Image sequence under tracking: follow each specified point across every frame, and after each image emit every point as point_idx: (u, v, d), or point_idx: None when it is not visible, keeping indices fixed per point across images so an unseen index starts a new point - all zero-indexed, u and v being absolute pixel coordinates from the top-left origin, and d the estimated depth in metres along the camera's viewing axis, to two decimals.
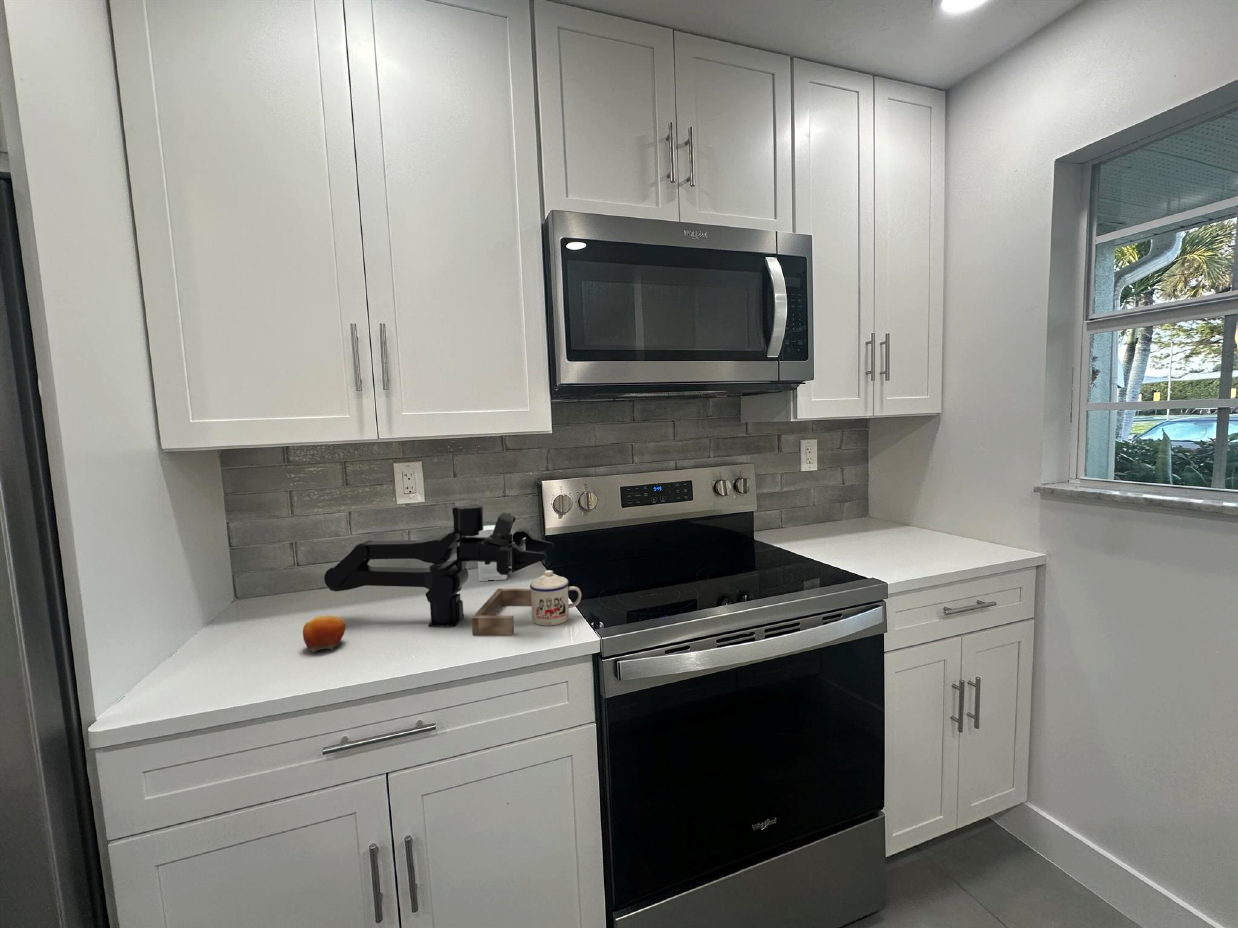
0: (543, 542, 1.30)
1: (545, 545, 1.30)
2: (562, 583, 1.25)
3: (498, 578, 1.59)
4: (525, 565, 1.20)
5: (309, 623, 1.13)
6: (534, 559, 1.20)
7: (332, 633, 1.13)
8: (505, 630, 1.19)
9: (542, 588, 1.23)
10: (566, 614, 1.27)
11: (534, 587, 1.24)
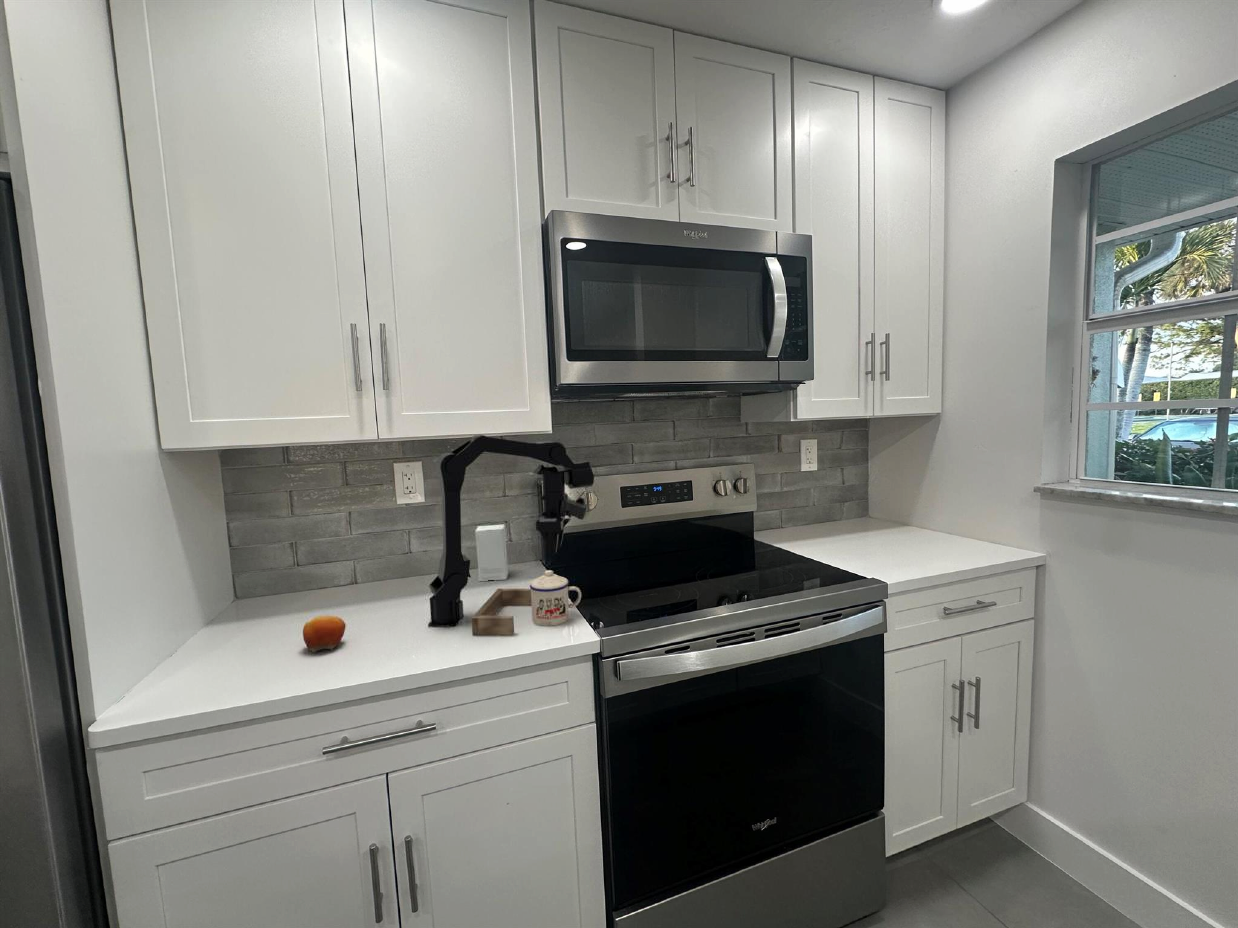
0: (561, 537, 1.44)
1: (558, 540, 1.44)
2: (562, 583, 1.25)
3: (498, 578, 1.59)
4: (545, 538, 1.35)
5: (309, 623, 1.13)
6: (551, 544, 1.36)
7: (332, 633, 1.13)
8: (505, 630, 1.19)
9: (542, 588, 1.23)
10: (566, 614, 1.27)
11: (534, 587, 1.24)
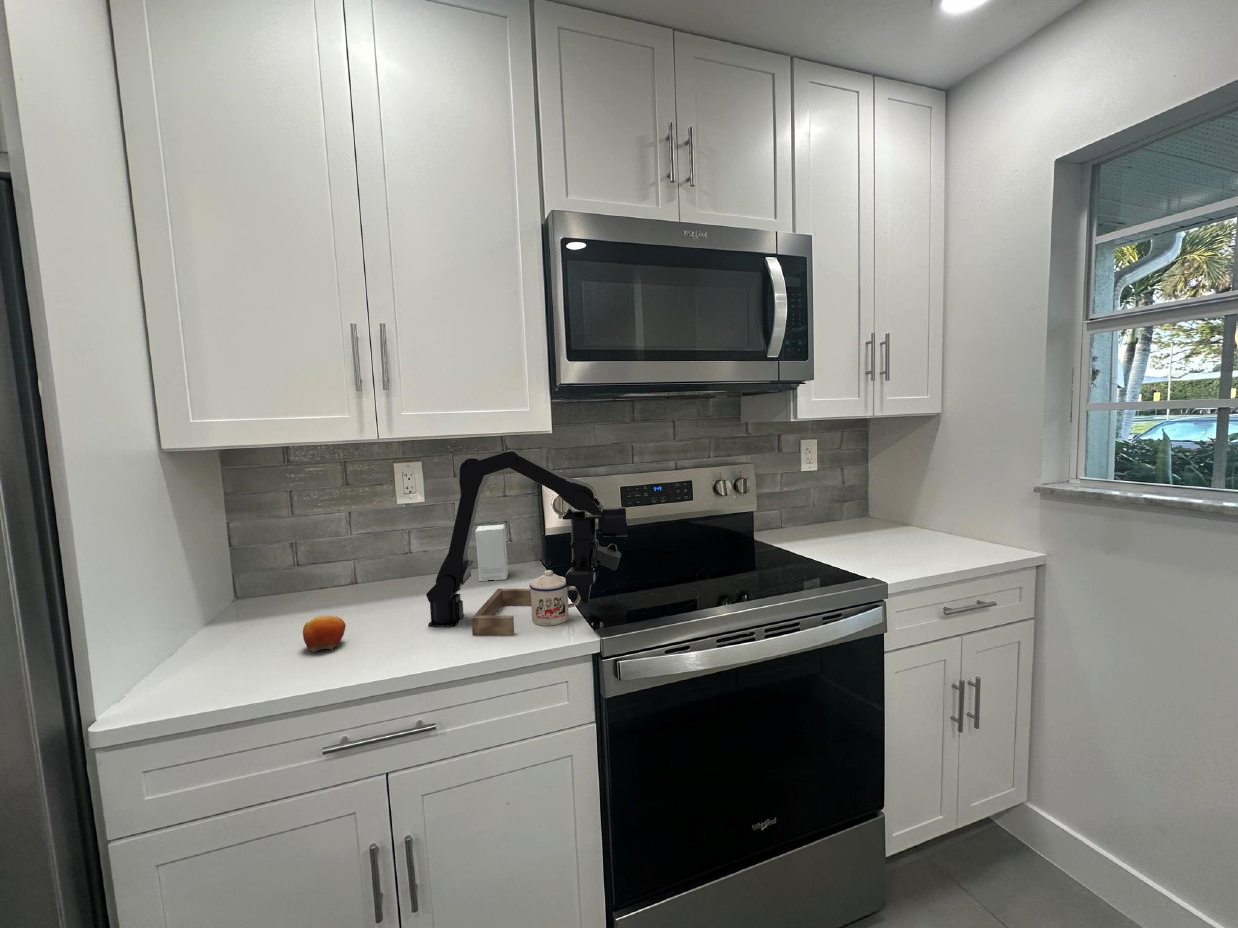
0: None
1: None
2: (562, 583, 1.25)
3: (498, 578, 1.59)
4: (576, 586, 1.26)
5: (309, 623, 1.13)
6: (583, 593, 1.27)
7: (332, 633, 1.13)
8: (505, 630, 1.19)
9: (542, 588, 1.23)
10: (566, 614, 1.27)
11: (534, 587, 1.24)
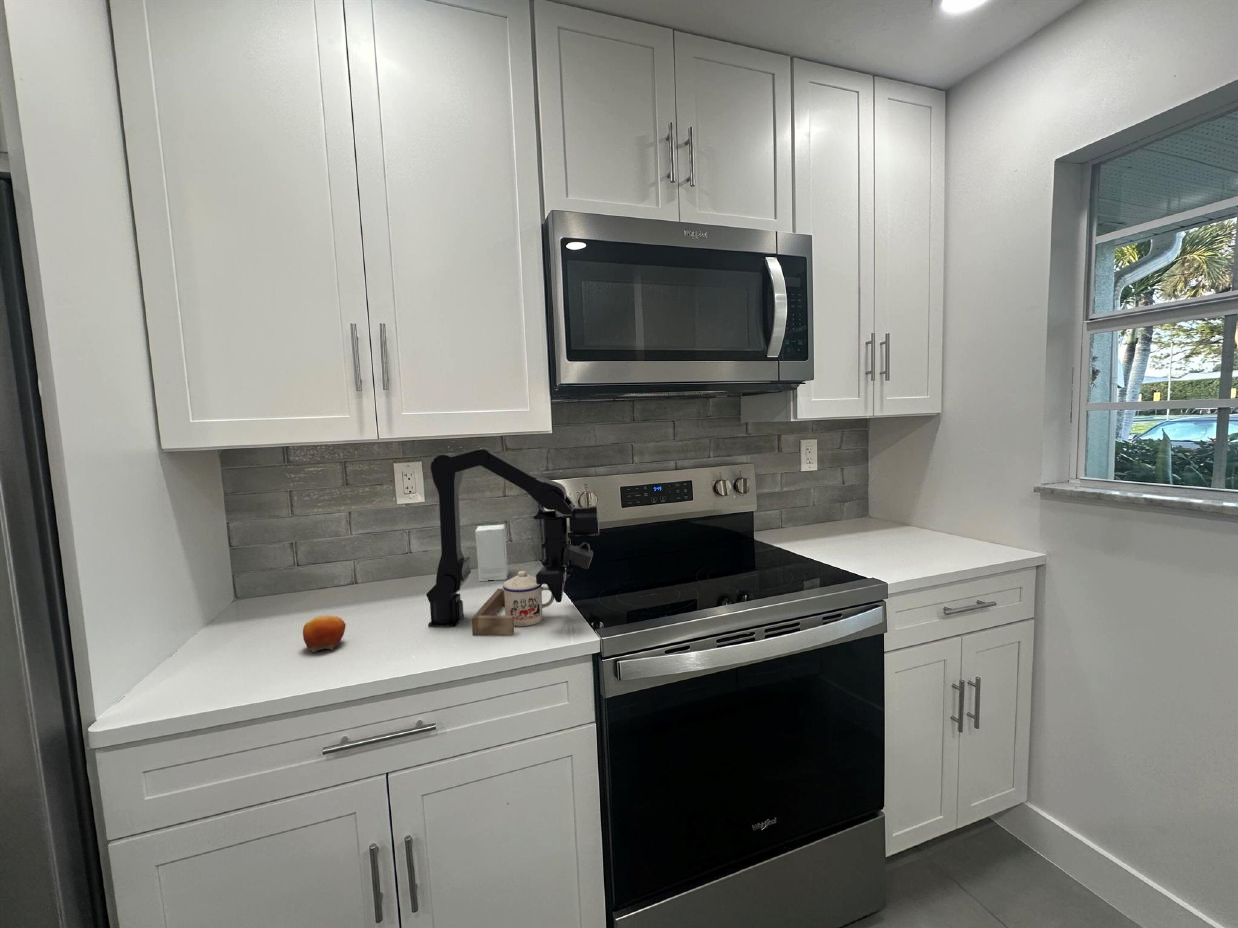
0: None
1: None
2: None
3: (498, 578, 1.59)
4: (549, 586, 1.26)
5: (309, 623, 1.13)
6: (555, 592, 1.27)
7: (332, 633, 1.13)
8: (505, 630, 1.19)
9: (516, 589, 1.23)
10: (540, 614, 1.27)
11: (508, 588, 1.24)
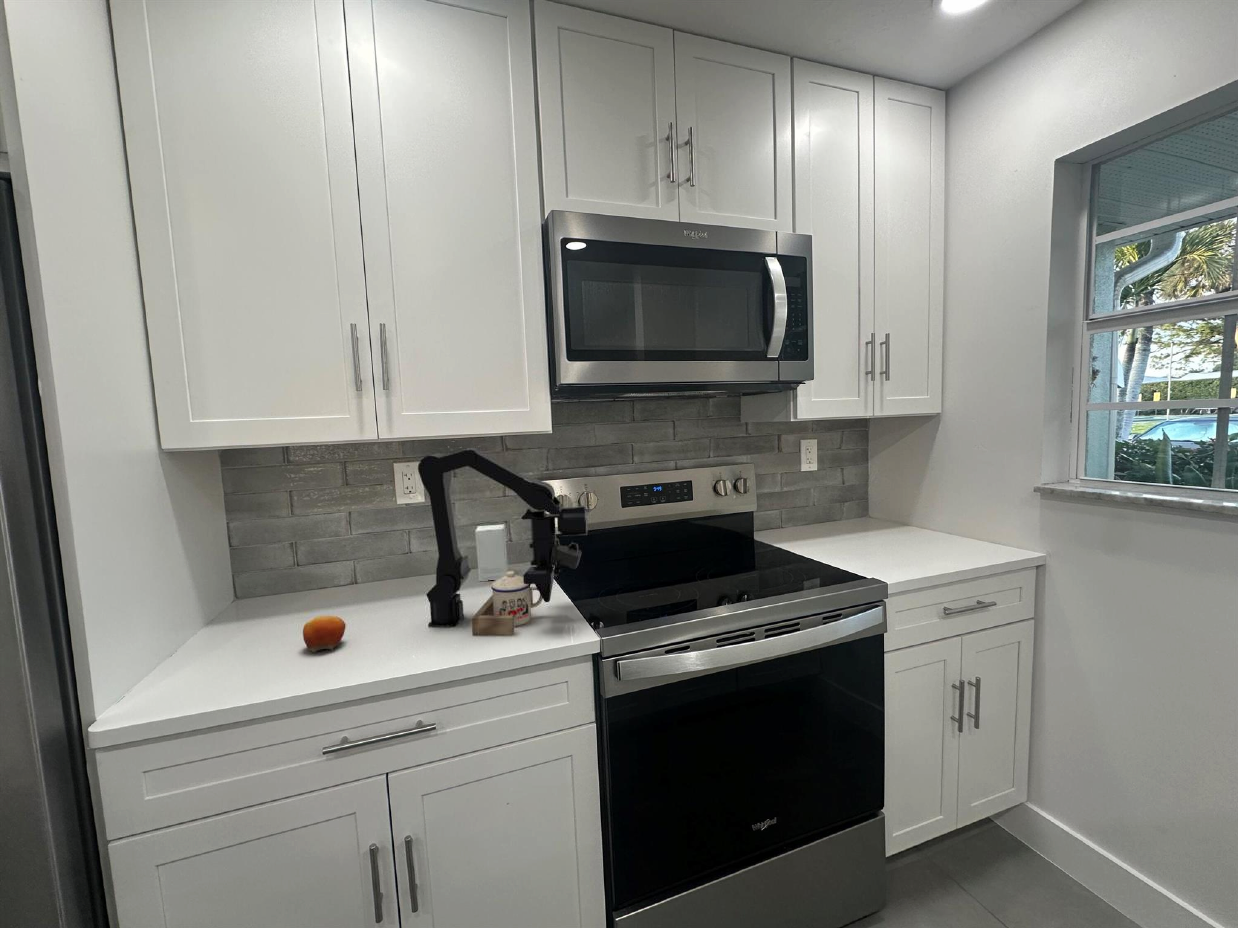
0: None
1: None
2: None
3: (498, 578, 1.59)
4: (537, 586, 1.26)
5: (309, 623, 1.13)
6: (543, 592, 1.27)
7: (332, 633, 1.13)
8: (505, 630, 1.19)
9: (505, 589, 1.23)
10: (529, 614, 1.27)
11: (496, 588, 1.24)
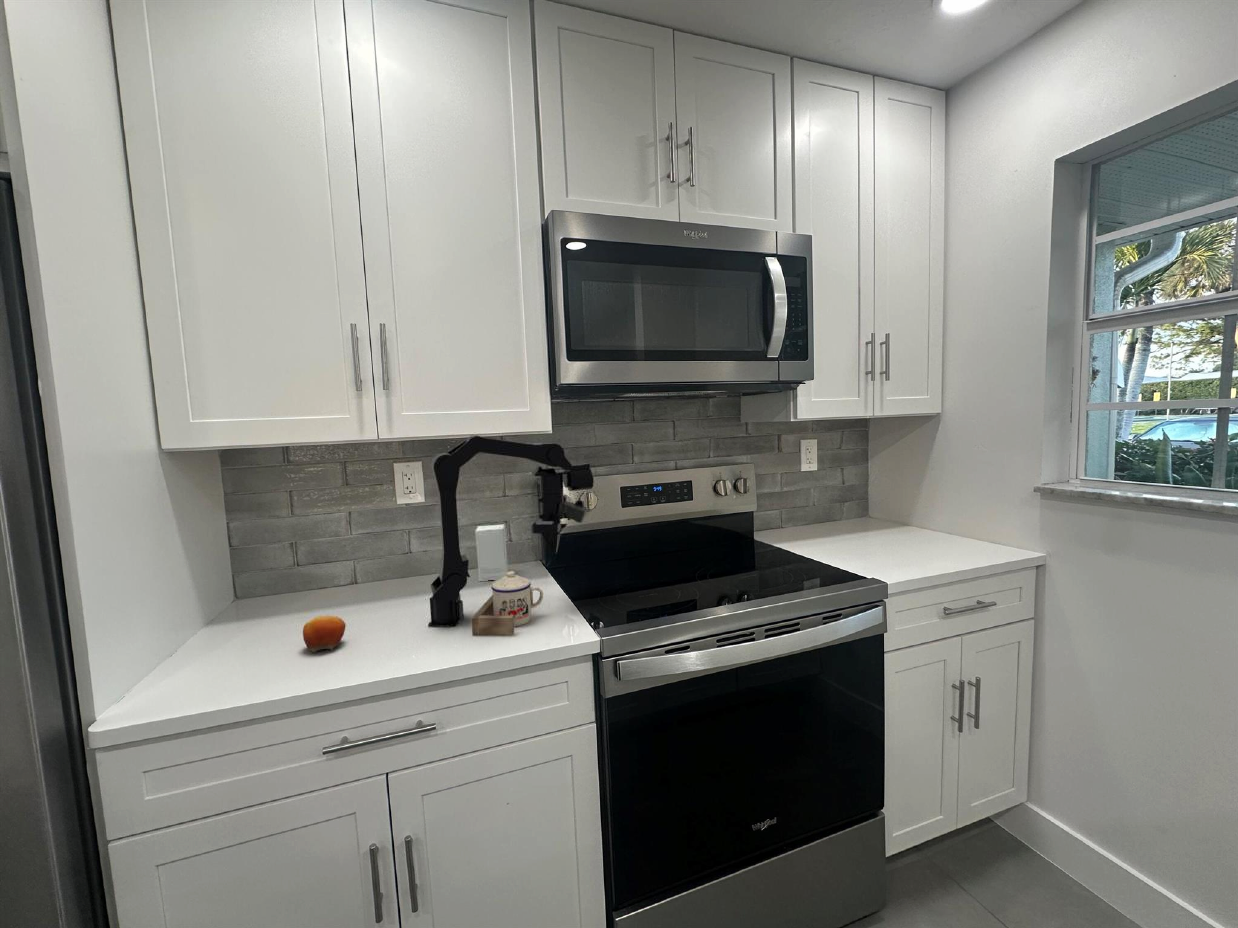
0: None
1: None
2: (525, 583, 1.26)
3: (498, 578, 1.59)
4: (545, 538, 1.36)
5: (309, 623, 1.13)
6: (551, 544, 1.37)
7: (332, 634, 1.13)
8: (505, 630, 1.19)
9: (505, 589, 1.23)
10: (529, 614, 1.27)
11: (496, 589, 1.24)
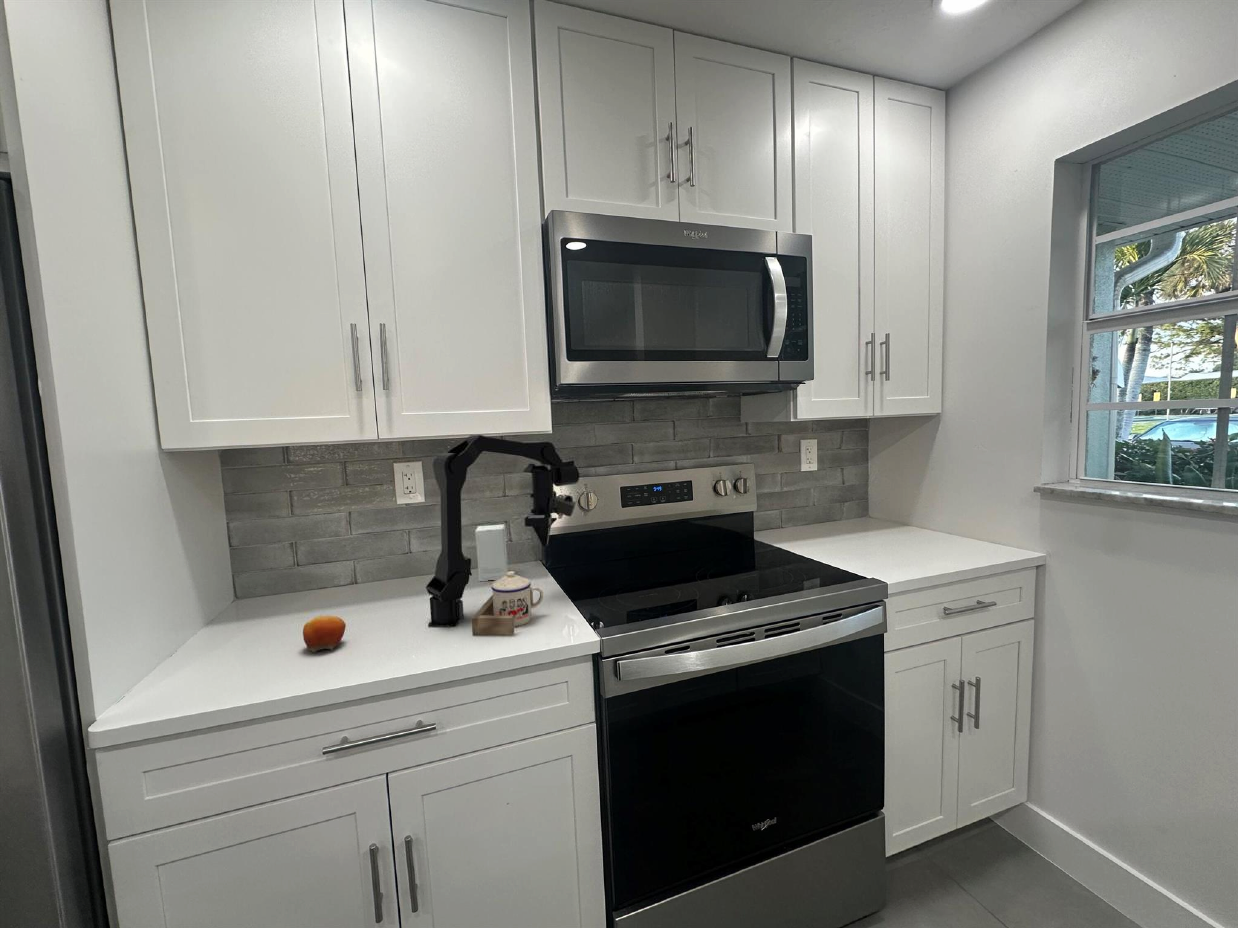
0: (547, 537, 1.46)
1: None
2: (525, 583, 1.26)
3: (498, 578, 1.59)
4: (536, 531, 1.44)
5: (309, 623, 1.13)
6: (542, 537, 1.45)
7: (332, 633, 1.13)
8: (505, 630, 1.19)
9: (505, 589, 1.23)
10: (529, 614, 1.27)
11: (496, 589, 1.24)
